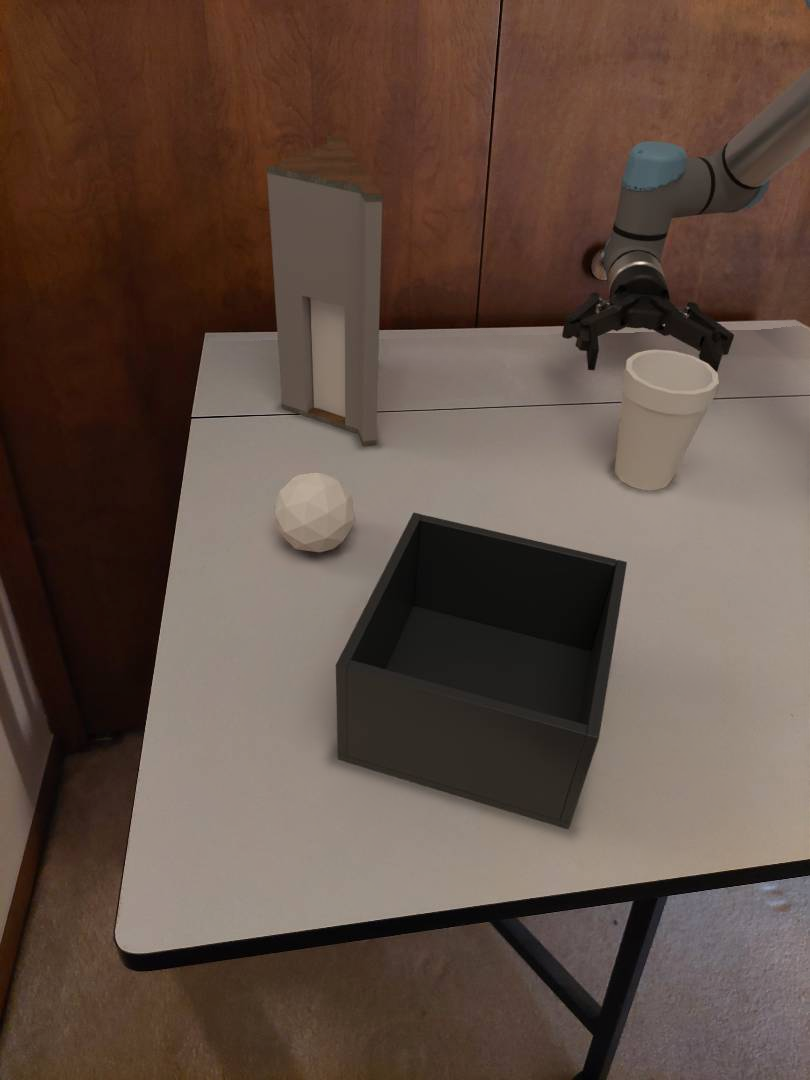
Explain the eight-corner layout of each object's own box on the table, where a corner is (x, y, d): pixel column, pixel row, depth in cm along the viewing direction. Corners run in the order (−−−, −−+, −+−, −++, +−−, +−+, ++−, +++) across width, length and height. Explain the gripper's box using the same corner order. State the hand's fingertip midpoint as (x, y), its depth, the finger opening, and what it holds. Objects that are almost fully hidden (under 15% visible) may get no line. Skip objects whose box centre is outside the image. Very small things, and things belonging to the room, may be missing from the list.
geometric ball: (331, 552, 83) (377, 494, 80) (312, 581, 75) (362, 518, 72) (272, 507, 82) (316, 447, 79) (247, 531, 74) (295, 466, 72)
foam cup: (632, 506, 86) (663, 400, 78) (584, 460, 93) (607, 358, 84) (702, 487, 89) (738, 384, 81) (651, 444, 96) (679, 344, 87)
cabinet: (376, 444, 93) (382, 194, 75) (293, 453, 91) (279, 197, 73) (342, 360, 108) (341, 135, 90) (271, 365, 106) (255, 137, 88)
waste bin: (599, 653, 70) (627, 561, 63) (568, 829, 57) (599, 738, 50) (407, 604, 73) (413, 512, 66) (337, 759, 60) (335, 665, 53)
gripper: (723, 326, 109) (753, 406, 93) (540, 308, 111) (539, 383, 95) (740, 272, 105) (775, 347, 88) (549, 254, 106) (549, 324, 90)
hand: (653, 366), depth 92 cm, fingers open, 13 cm apart
